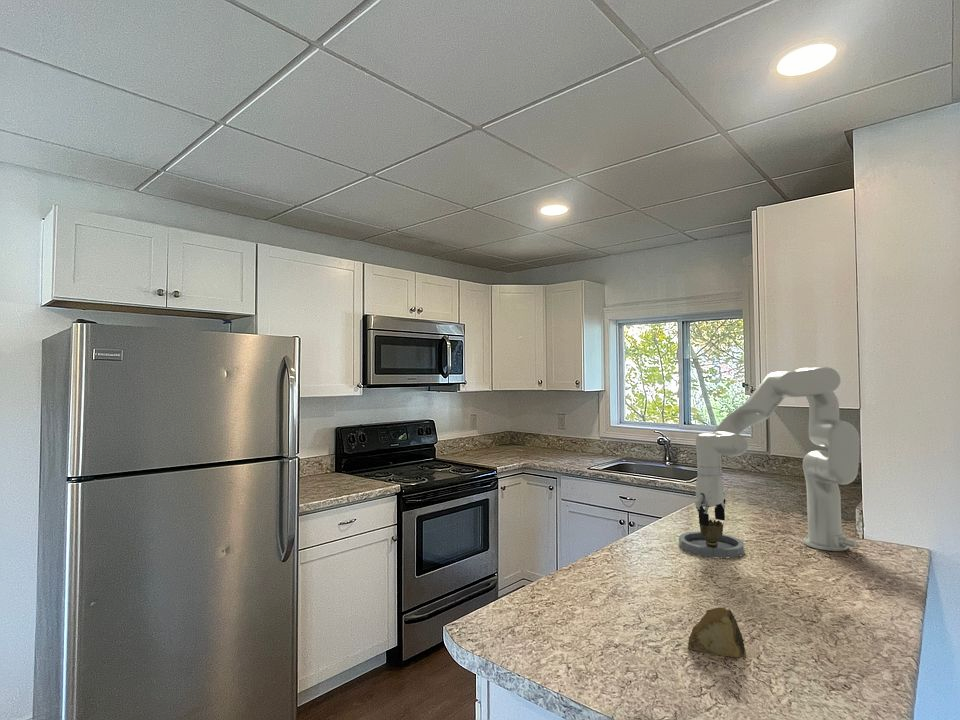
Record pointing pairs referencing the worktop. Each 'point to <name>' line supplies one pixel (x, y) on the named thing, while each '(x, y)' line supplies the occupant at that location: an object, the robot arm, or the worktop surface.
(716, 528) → the cup
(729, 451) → the robot arm
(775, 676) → the worktop surface
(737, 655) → the rock
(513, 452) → the worktop surface
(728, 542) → the round dish
